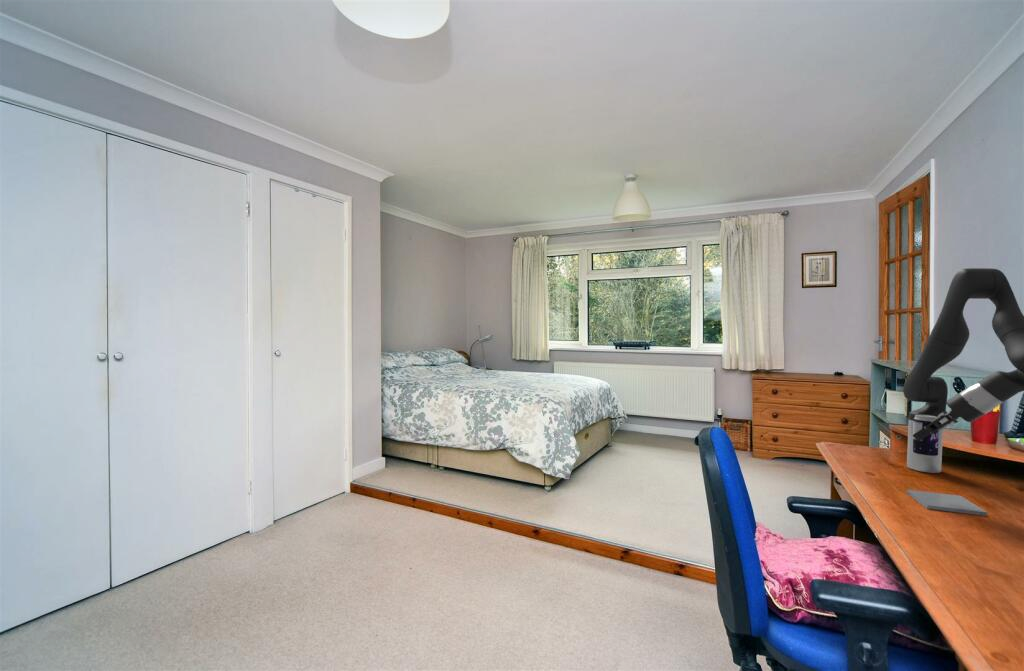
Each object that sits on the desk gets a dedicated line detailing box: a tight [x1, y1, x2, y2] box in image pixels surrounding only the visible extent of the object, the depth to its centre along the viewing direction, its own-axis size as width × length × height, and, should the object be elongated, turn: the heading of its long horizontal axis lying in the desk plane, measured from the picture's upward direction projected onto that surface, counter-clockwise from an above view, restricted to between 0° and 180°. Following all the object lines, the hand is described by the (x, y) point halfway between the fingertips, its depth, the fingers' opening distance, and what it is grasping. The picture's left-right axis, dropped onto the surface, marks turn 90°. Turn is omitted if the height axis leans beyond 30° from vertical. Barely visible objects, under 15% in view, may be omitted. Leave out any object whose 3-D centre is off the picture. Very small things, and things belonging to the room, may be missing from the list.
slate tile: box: [906, 489, 988, 517], centre depth 135 cm, size 13×13×1 cm
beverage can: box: [913, 415, 939, 458], centre depth 140 cm, size 6×6×12 cm
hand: (918, 436), depth 141 cm, fingers closed on beverage can, 5 cm apart
